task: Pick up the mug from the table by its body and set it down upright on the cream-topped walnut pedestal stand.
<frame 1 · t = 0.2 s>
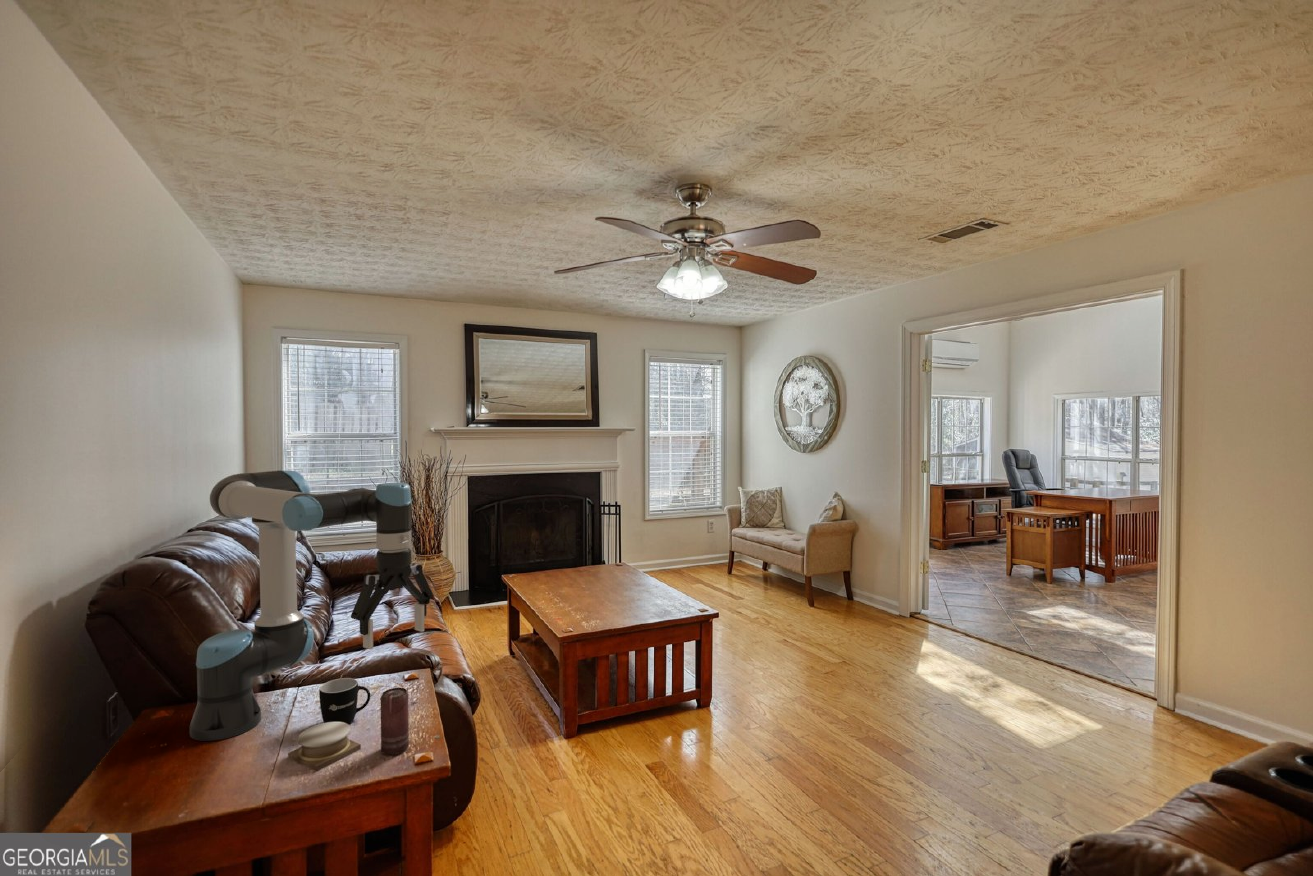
hand: (394, 639, 147), 28 cm above the table, fingers open, 13 cm apart
stand: (324, 753, 148), on the table
can: (394, 750, 150), on the table
mug: (345, 722, 163), on the table
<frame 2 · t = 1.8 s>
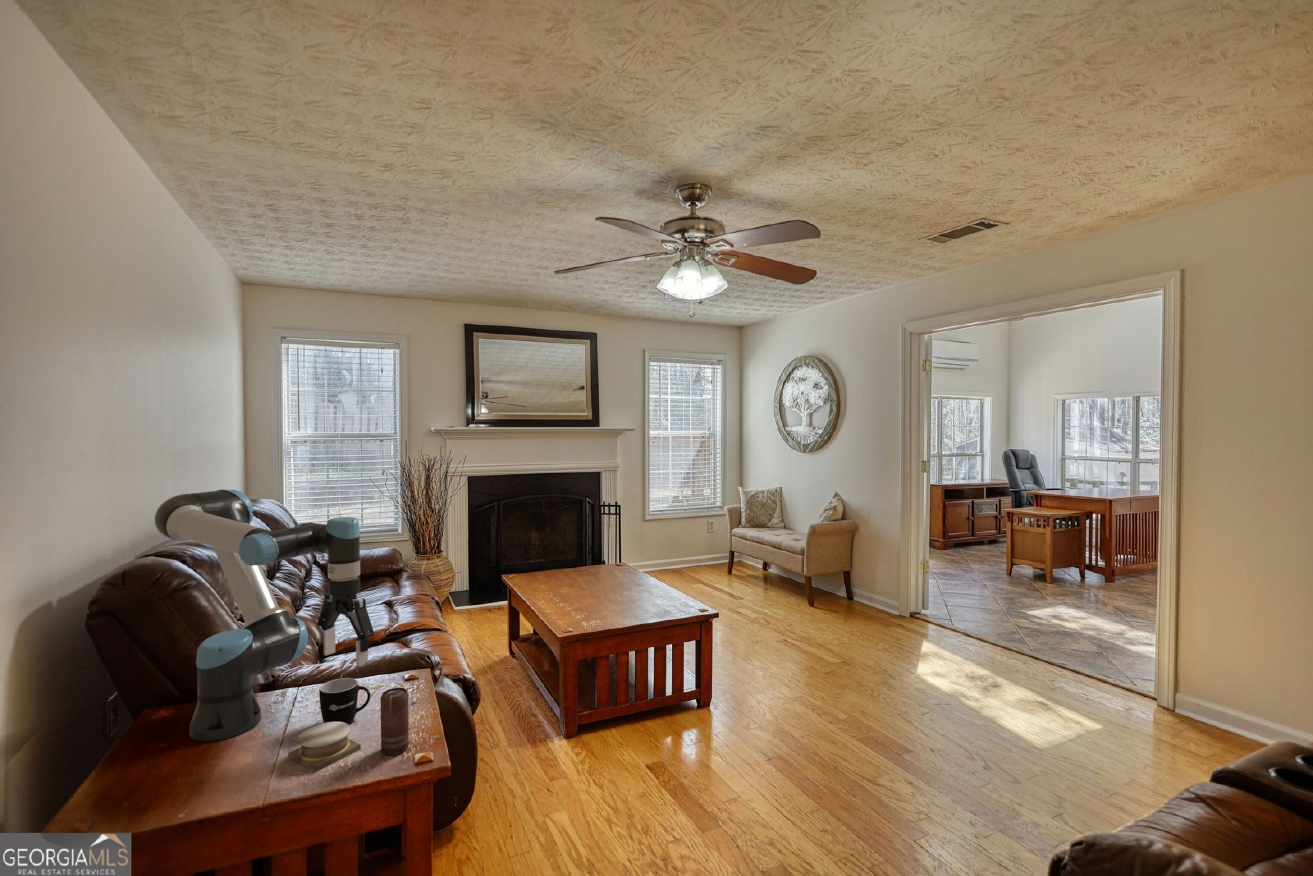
hand: (345, 658, 162), 17 cm above the table, fingers open, 13 cm apart
nothing on the table moved.
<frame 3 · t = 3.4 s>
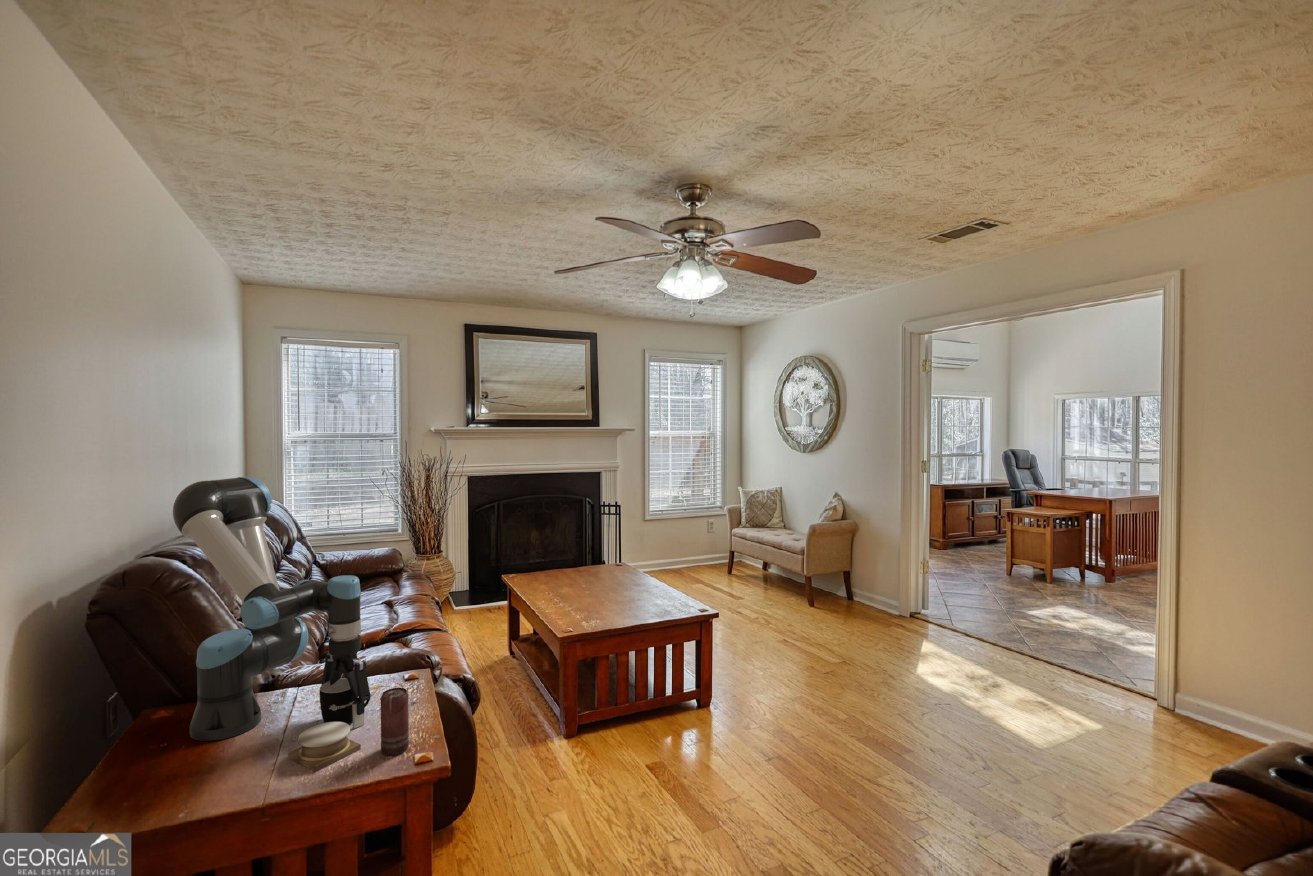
hand: (345, 721, 163), 0 cm above the table, fingers open, 10 cm apart
mug: (346, 722, 163), on the table, touching gripper
everything else where it was.
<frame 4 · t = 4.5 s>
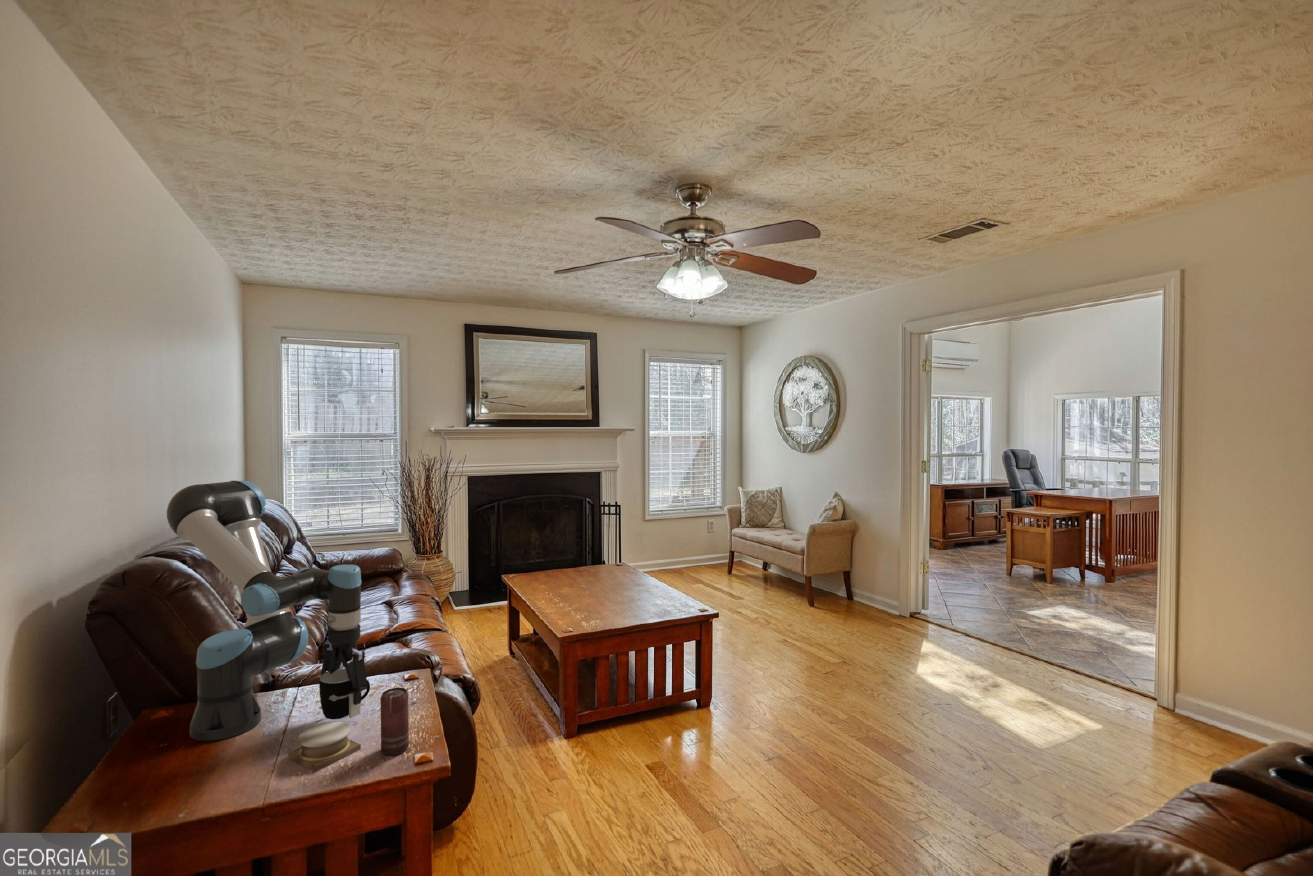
hand: (343, 710, 163), 3 cm above the table, fingers closed on mug, 9 cm apart
mug: (344, 713, 163), point 2 cm above the table, touching gripper
everything else where it was.
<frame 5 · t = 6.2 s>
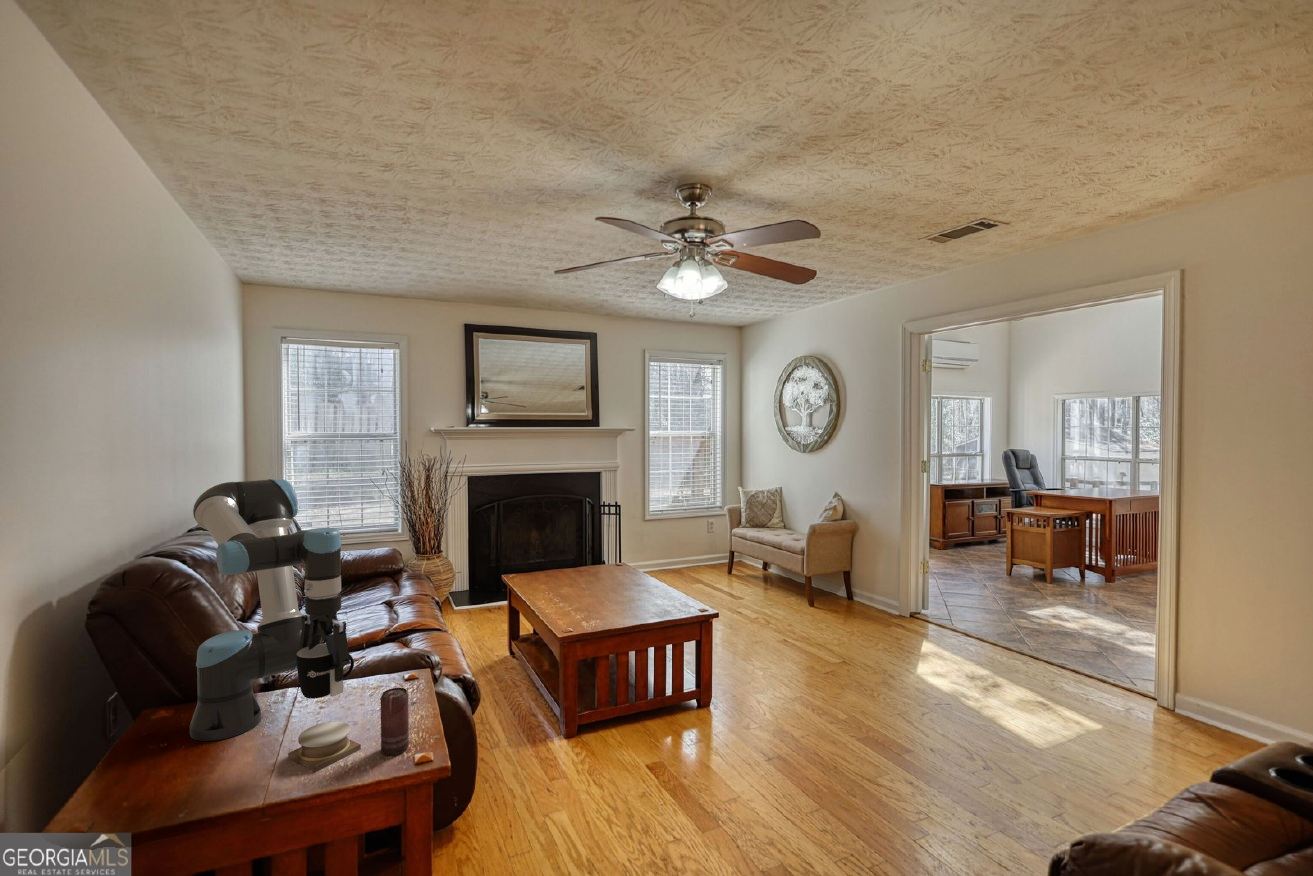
hand: (324, 689, 147), 15 cm above the table, fingers closed on mug, 9 cm apart
mug: (326, 692, 147), point 15 cm above the table, touching gripper
everything else where it was.
when the fingers open (6 cm above the table, at t = 8.2 s): mug drops 1 cm, resting on stand.
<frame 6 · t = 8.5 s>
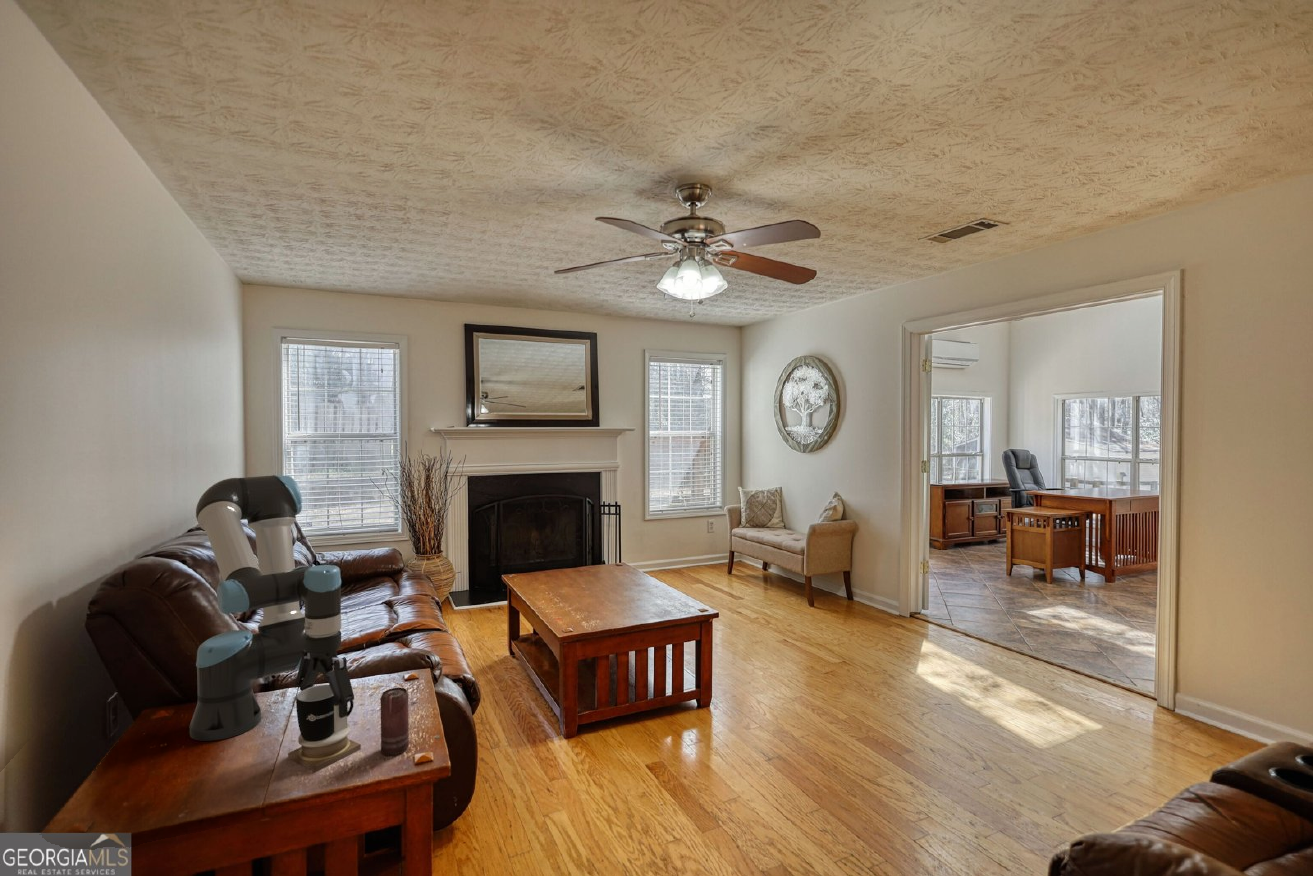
hand: (324, 723, 147), 7 cm above the table, fingers open, 12 cm apart
mug: (325, 734, 147), point 5 cm above the table, touching stand
everything else where it was.
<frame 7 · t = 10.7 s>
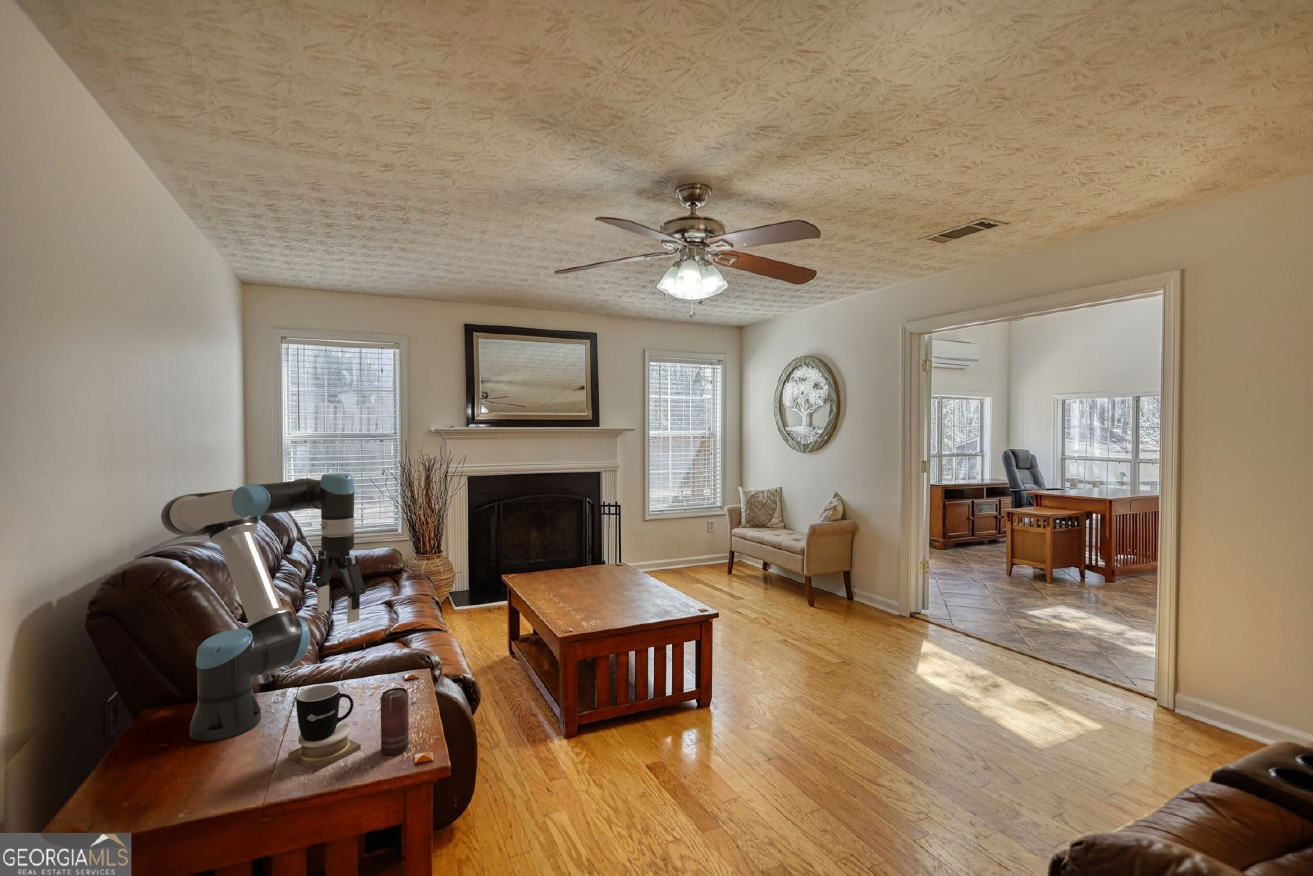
hand: (338, 616, 160), 28 cm above the table, fingers open, 13 cm apart
nothing on the table moved.
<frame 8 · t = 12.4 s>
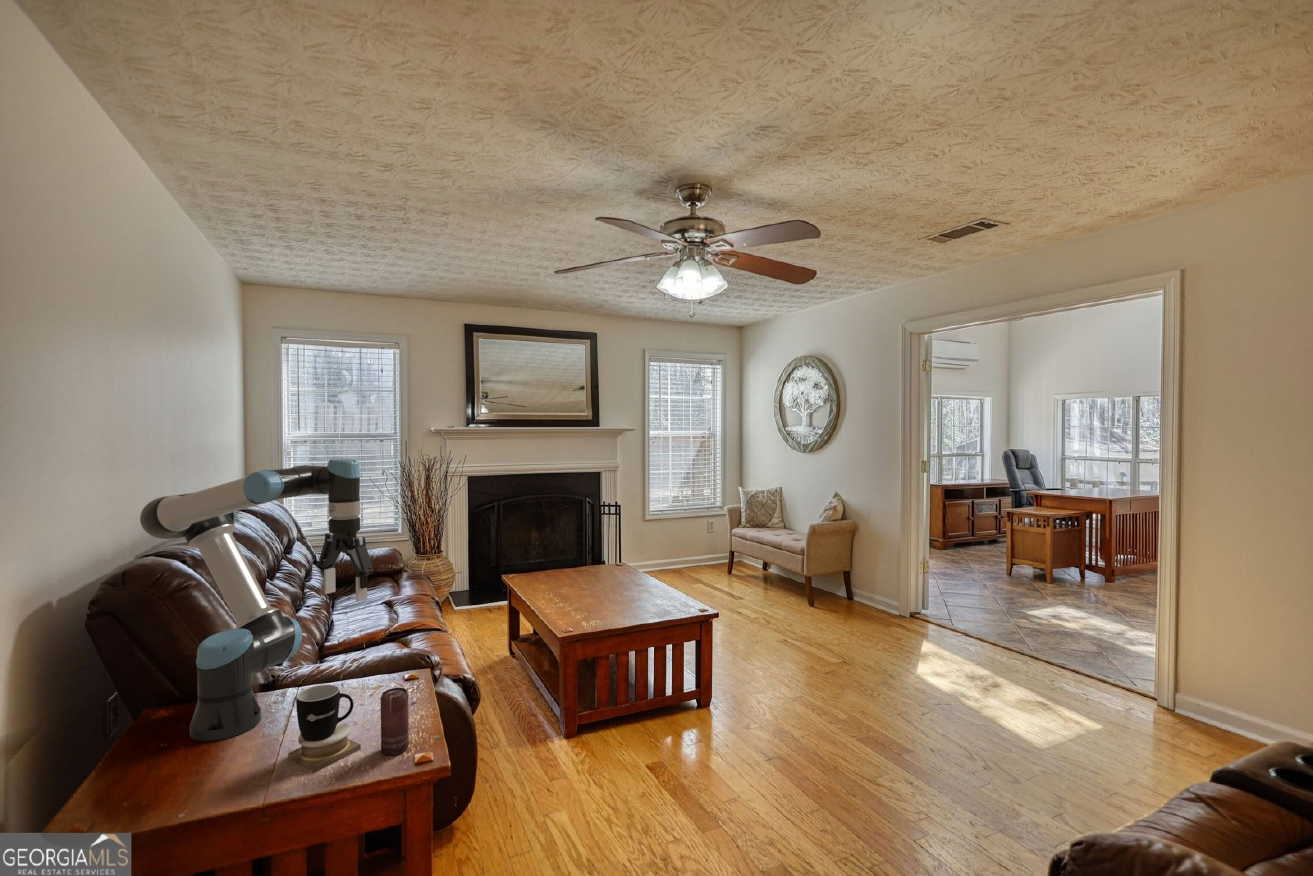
hand: (345, 596, 167), 32 cm above the table, fingers open, 13 cm apart
nothing on the table moved.
at the end: mug inside the target area on the stand (0.4 cm from its centre), point 4.8 cm above the stand's base; mug tilted 0°; the gripper is holding nothing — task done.
